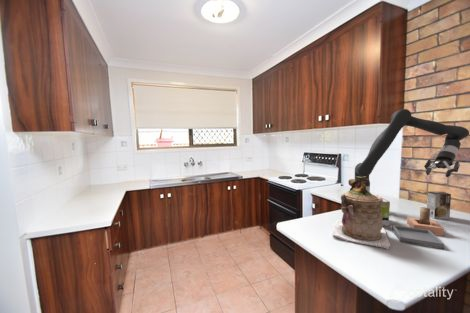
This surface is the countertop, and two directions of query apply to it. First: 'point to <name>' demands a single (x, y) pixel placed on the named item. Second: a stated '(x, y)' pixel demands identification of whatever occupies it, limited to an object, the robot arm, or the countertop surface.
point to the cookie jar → (361, 216)
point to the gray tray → (417, 236)
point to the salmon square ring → (426, 226)
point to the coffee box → (439, 205)
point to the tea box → (385, 212)
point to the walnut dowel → (424, 215)
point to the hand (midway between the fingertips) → (436, 175)
